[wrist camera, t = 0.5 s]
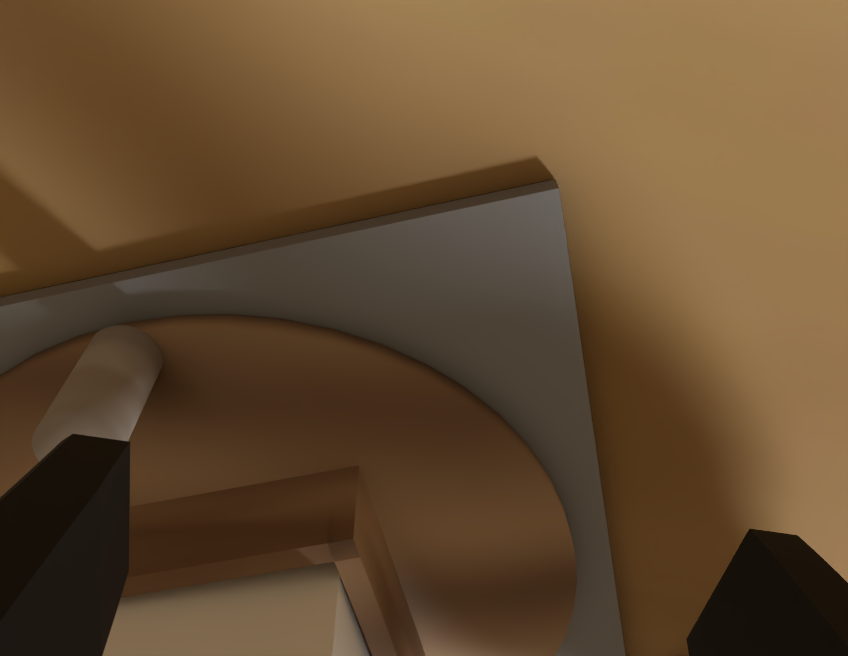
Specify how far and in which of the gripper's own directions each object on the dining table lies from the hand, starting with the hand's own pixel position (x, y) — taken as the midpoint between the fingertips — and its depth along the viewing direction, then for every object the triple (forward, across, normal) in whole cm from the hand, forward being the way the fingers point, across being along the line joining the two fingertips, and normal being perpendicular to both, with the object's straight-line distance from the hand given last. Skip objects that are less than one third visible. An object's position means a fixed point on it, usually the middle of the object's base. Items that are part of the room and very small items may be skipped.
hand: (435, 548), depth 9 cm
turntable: (+10, +2, +12) cm, 15 cm away
